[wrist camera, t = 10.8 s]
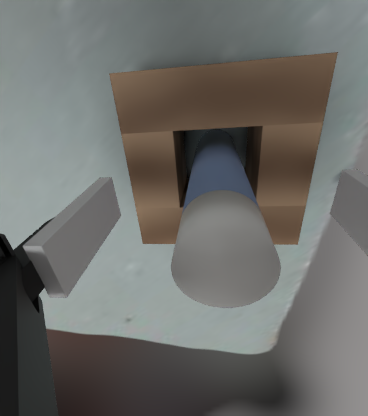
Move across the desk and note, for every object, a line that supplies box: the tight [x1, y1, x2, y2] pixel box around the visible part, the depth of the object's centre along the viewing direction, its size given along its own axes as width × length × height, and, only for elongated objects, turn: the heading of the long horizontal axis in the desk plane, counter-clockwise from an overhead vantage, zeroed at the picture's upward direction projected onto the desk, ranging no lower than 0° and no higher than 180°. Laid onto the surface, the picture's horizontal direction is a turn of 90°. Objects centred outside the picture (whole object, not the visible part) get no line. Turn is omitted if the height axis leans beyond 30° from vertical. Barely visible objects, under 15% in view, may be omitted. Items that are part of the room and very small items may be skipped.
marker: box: [171, 130, 281, 308], centre depth 16 cm, size 4×4×18 cm
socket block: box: [109, 52, 338, 244], centre depth 21 cm, size 14×14×7 cm
